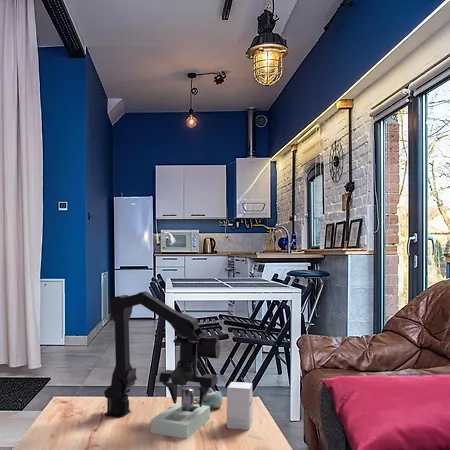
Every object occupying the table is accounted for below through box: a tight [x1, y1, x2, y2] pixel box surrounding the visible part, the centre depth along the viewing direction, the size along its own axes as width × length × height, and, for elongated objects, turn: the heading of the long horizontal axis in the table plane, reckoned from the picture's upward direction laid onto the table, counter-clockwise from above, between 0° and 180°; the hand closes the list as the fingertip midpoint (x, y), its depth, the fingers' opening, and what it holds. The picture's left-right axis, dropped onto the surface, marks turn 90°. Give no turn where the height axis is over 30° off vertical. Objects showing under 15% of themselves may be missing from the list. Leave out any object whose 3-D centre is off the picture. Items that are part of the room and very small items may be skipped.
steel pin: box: [181, 386, 195, 412], centre depth 157 cm, size 4×4×9 cm
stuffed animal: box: [194, 387, 224, 409], centre depth 172 cm, size 11×7×12 cm
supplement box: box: [226, 381, 253, 431], centre depth 153 cm, size 7×7×13 cm
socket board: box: [150, 401, 211, 440], centre depth 152 cm, size 12×18×4 cm, turn 159°
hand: (187, 405), depth 157 cm, fingers open, 9 cm apart
